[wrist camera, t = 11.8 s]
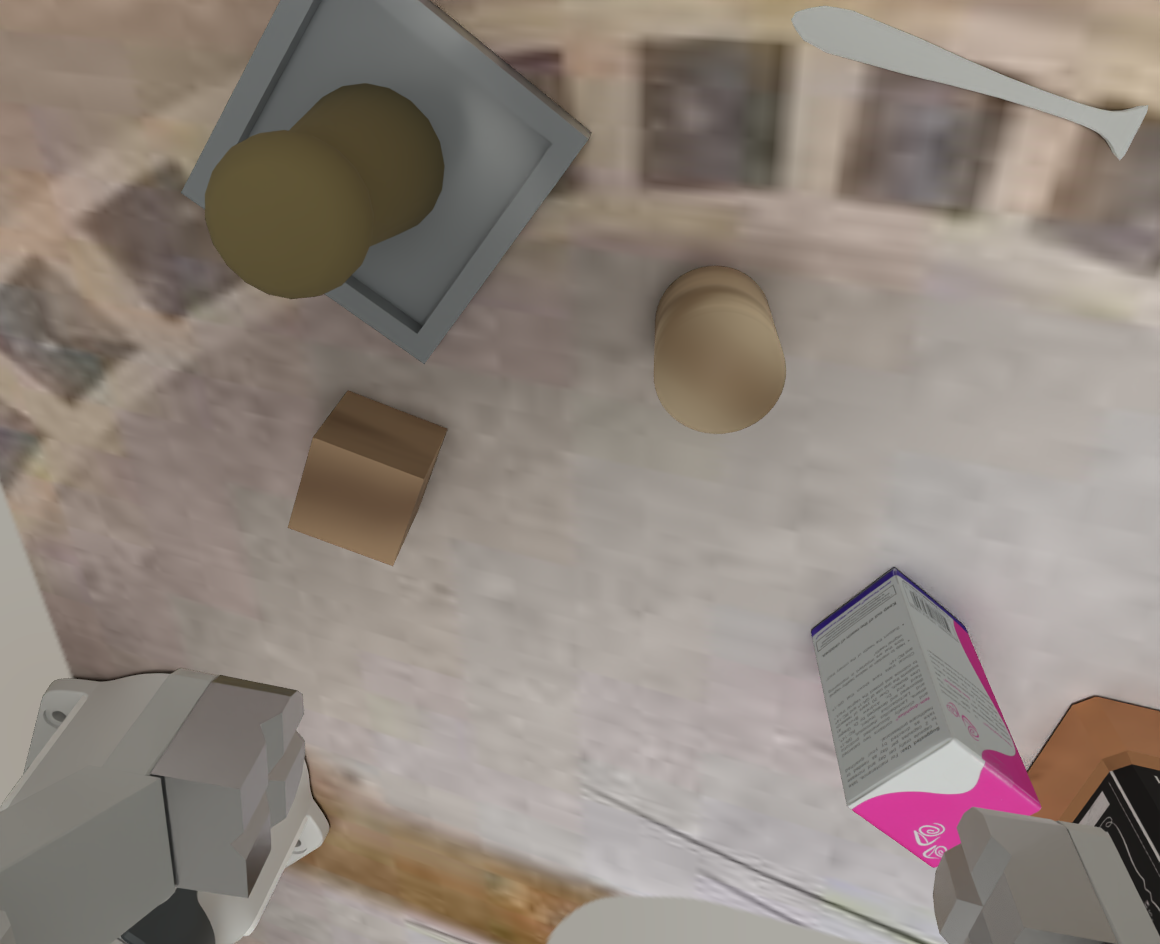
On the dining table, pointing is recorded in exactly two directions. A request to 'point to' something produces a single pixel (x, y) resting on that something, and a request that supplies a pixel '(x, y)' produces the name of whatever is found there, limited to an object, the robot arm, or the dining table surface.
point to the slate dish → (461, 122)
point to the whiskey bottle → (1108, 784)
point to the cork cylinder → (717, 351)
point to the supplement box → (915, 718)
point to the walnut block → (366, 477)
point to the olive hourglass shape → (324, 191)
